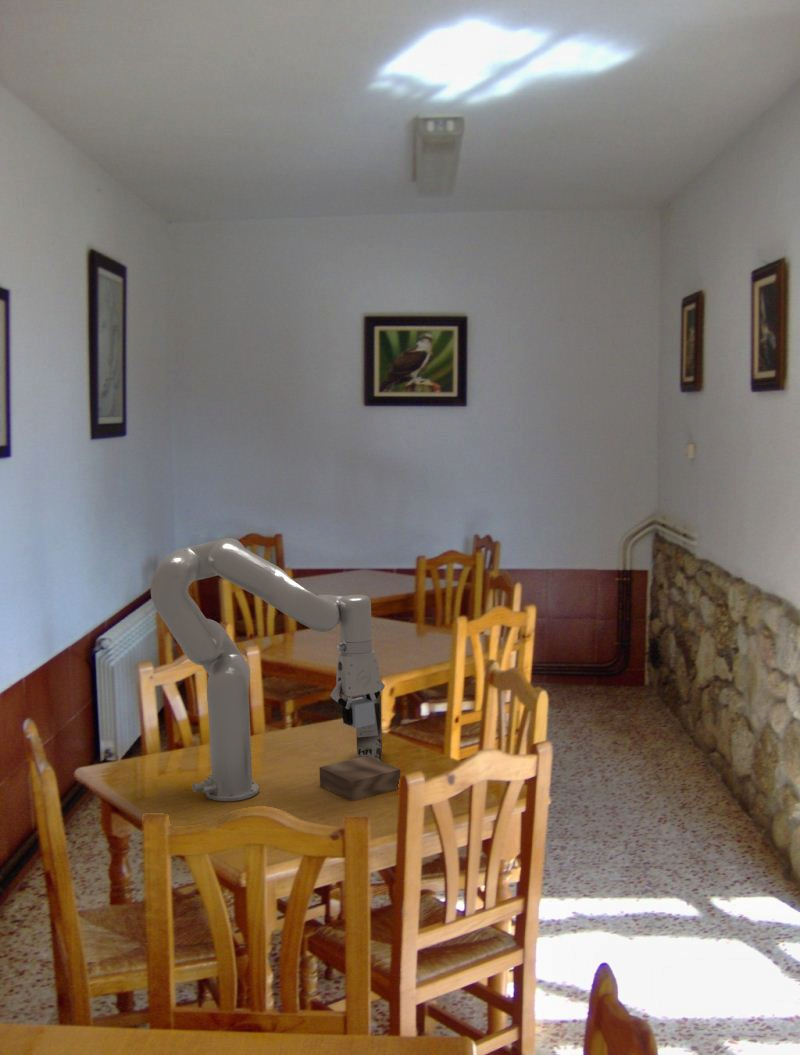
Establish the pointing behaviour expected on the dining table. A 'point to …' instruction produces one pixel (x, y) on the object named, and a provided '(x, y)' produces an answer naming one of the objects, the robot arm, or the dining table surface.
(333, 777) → the walnut block
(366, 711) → the grey blue cube
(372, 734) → the coffee box
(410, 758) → the dining table surface
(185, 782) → the dining table surface
